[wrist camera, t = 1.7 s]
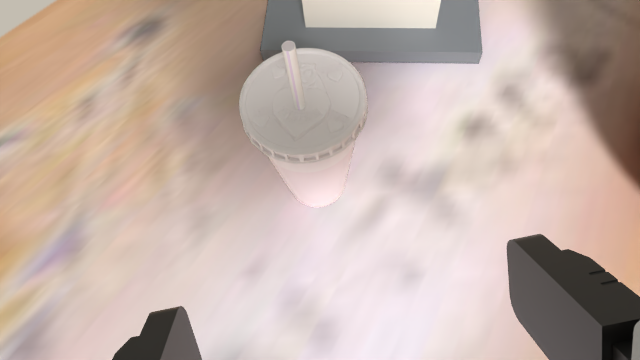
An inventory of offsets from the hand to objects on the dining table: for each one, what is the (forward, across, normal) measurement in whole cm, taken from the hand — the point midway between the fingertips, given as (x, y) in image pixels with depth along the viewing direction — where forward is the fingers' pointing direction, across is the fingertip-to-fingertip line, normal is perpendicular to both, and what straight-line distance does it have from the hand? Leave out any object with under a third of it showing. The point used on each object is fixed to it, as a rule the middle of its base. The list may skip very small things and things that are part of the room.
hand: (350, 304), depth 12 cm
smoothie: (+20, 0, +4) cm, 21 cm away
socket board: (+31, -7, -7) cm, 33 cm away
